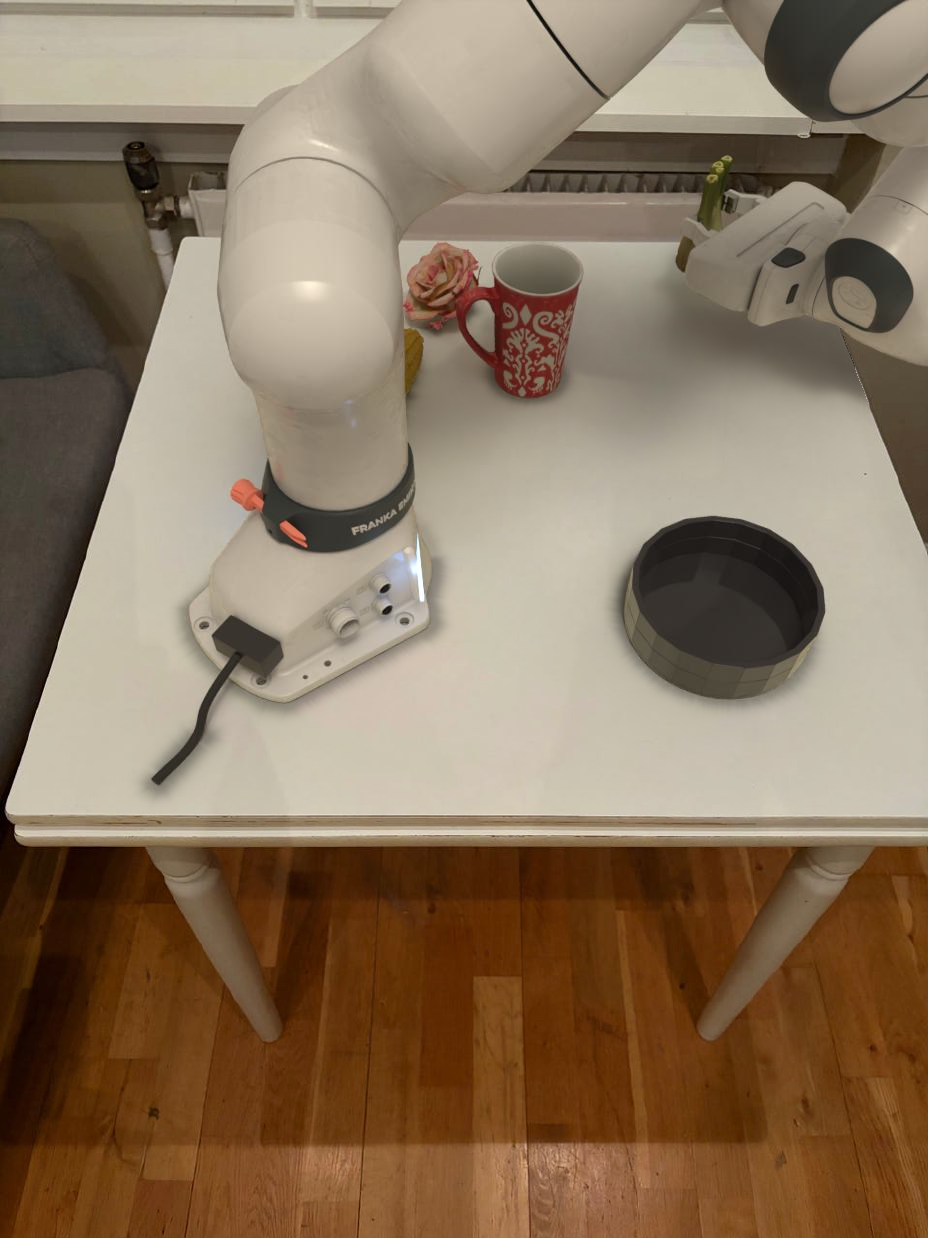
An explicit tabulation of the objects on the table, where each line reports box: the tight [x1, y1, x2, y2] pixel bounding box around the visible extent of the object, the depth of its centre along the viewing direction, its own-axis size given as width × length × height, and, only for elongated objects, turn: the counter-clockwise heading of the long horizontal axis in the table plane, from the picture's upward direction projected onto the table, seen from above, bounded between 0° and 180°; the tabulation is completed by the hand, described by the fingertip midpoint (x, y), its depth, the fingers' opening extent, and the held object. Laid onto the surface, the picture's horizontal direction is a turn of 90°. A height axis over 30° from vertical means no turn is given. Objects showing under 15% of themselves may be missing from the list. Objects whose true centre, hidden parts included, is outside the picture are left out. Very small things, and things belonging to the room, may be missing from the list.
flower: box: [403, 241, 482, 330], centre depth 107 cm, size 10×9×8 cm
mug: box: [455, 241, 584, 399], centre depth 98 cm, size 13×9×14 cm
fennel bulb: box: [675, 154, 733, 274], centre depth 102 cm, size 6×5×12 cm
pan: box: [623, 515, 827, 700], centre depth 83 cm, size 16×16×5 cm
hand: (703, 210), depth 102 cm, fingers closed on fennel bulb, 5 cm apart
